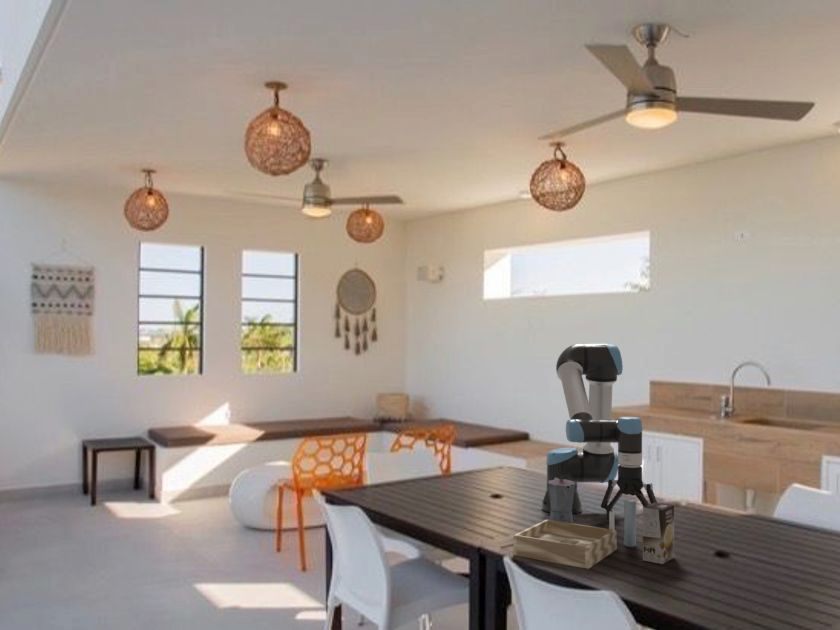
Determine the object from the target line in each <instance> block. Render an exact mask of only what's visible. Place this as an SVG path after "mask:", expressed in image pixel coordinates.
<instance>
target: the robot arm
mask: <svg viewBox="0 0 840 630" xmlns="http://www.w3.org/2000/svg"><path fill="white" fill-rule="evenodd" d="M555 365H556V366H555V368H556V369H555V370H556V374H557V377H558V379H559V380H560V381H561V385H562V386H561V387H562V389H563V394H564V399H565V403H566V407H567V412H568V416H569V419H568V420H567V421H566V423H565V436H566V439H567V441H568V442H571V443H579V444H581V443H585V444H584V445H583V446H582V451H578V449H577V448H576V447H561V448H554V449H551V450H550V451H548V452H547V455H546V462H545V465H546V489H545V493H544V496H543V499H542V502H541V509H542V511H545V512H548V513H550V511H551V504H550V496H549V486H548V482H549V481H550V480H552V479H553V476H555V477H556V478H559V479H560V476H559V475H560V474H562V475H564V478H563V479H566V480H570V481H574V482H575V489H574V497H573V505H572V510H571V511H572V515H573V514H577V513H578V514H579V513H581V512H582V511H583V504H582V501H581V497H580V495H579V494H580V493H579V491H578V483H584V484H585V483H593V484H595V483H596V484H605V483H607V488H606V491H605V494H604V496H603V498H602V501H601V504H600V508H601V509H604V510H605V512H606V521H609V524H608V525H609V526H608V529H612V530H615V509H613V508H614V507H615V505H616V504H617V503H618V501H619V500H620V499H621V497H622V496H623V495H627V496H628V495H630V496H635V497H636V498H637V500H638V501H639V502H640V504H641V505H642V507H643V506H646V505H649V504H652V503H658V501H657V499H656V496H655V494H654V491H653V483H651V482H649V483H645V482H644V481H643V467H642V465H643V429H644V428H643V424H642V423H643V422H642V419H641V418H640V417H636V416H620V417H618V418H614V419H612V404H613V385H614V383H616V382H617V380H618V376H621V375H622V374H623V358H622V354H621V351H620V349H619V347H618V346H617V345H615V344H610V343H576V344H571V345H569V346H568V347H566V348H565V349H564V350H563V351H562V352H561V354H559V356H558V358H557V361H556V364H555ZM583 375H584V376H585V380H586V381H587V383H588V384H589V385H588V387H589V389H588V395H587V392H586V391H587V390H586V387H585V384H584V379H583ZM612 443H613V444H617V452H616V451H615V449H614V447H613V446H612V445H611V444H612ZM616 477H617V480H615V479H616ZM616 485H617V486H618V488H619V490H617V492H616V493H615V494H614V497H613V498H612V499H611V500H610V498H611V496H612V493H613V490H614V487H616ZM643 488H644V490H645V491H646V494H647V497H648V500H647V499H646V497H645V495H644V493H643V491H642V489H643ZM609 501H610V502H609ZM648 501H649V502H648Z"/></svg>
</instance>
